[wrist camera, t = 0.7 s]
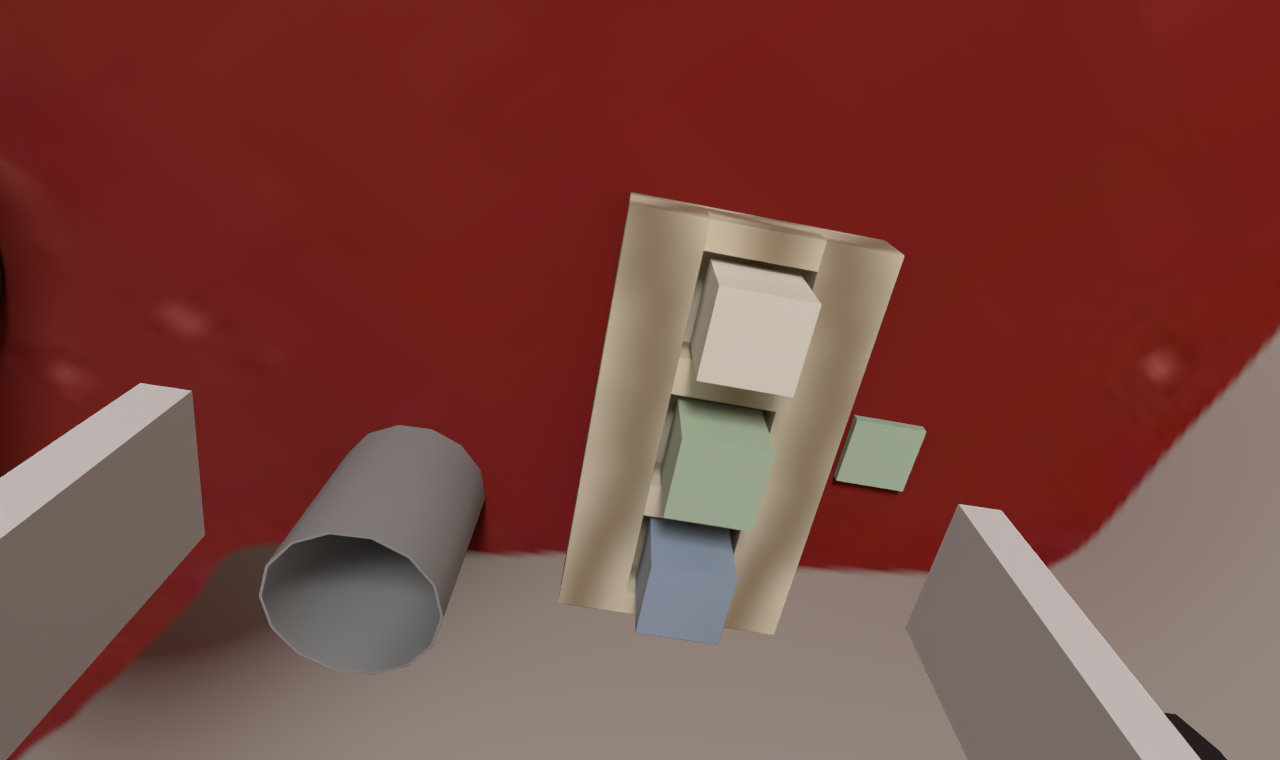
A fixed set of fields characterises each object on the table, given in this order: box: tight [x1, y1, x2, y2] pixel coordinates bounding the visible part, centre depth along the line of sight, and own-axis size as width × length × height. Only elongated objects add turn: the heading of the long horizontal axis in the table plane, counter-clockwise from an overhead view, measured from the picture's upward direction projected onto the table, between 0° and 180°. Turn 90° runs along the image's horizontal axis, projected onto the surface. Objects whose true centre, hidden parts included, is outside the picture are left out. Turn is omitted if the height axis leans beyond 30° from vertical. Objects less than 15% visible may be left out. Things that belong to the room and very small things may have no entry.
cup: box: [259, 425, 486, 674], centre depth 38 cm, size 8×8×10 cm
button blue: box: [635, 516, 738, 645], centre depth 40 cm, size 4×4×4 cm
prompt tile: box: [834, 415, 926, 492], centre depth 41 cm, size 4×4×1 cm
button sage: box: [661, 397, 776, 532], centre depth 37 cm, size 4×4×4 cm
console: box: [558, 192, 904, 635], centre depth 39 cm, size 13×24×3 cm, turn 169°
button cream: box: [690, 258, 822, 397], centre depth 34 cm, size 4×4×4 cm
